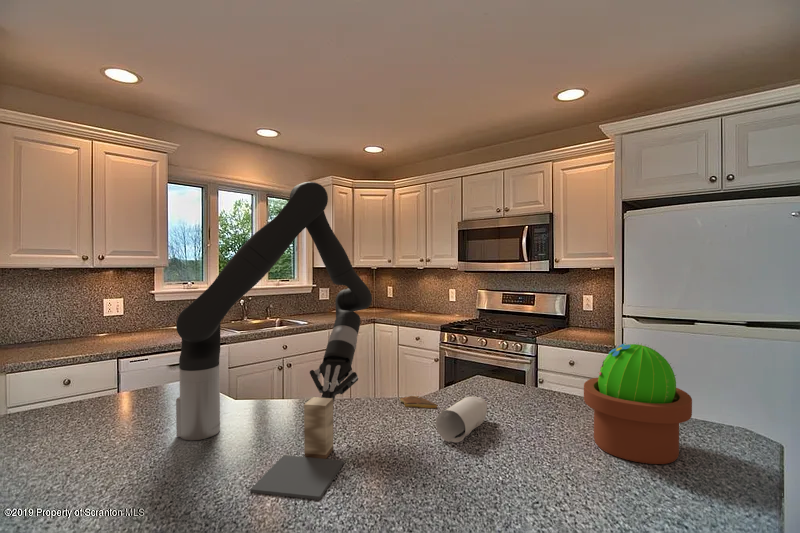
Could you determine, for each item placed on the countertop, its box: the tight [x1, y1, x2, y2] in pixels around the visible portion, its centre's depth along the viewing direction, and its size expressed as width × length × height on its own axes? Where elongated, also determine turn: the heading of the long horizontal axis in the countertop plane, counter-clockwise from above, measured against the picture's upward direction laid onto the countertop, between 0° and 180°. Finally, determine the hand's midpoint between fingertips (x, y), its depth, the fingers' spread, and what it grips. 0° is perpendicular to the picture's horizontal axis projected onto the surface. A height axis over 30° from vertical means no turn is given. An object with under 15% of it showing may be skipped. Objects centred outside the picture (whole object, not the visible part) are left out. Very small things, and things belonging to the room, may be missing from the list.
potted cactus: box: [583, 342, 693, 465], centre depth 98 cm, size 22×22×25 cm
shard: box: [399, 395, 439, 409], centre depth 126 cm, size 11×8×2 cm
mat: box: [249, 454, 345, 501], centre depth 85 cm, size 14×14×1 cm
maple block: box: [303, 396, 334, 459], centre depth 95 cm, size 5×5×12 cm
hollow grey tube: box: [434, 396, 488, 444], centre depth 108 cm, size 8×19×8 cm, turn 145°
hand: (325, 408), depth 99 cm, fingers closed
